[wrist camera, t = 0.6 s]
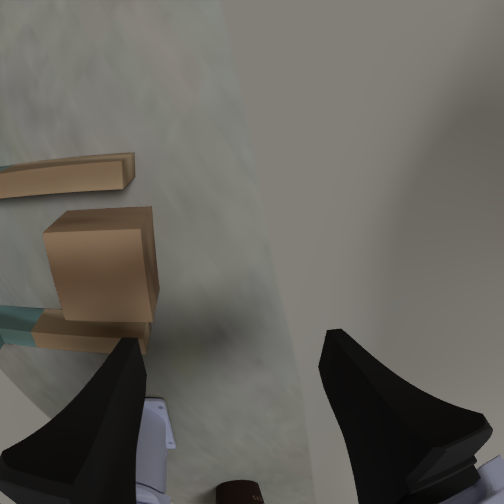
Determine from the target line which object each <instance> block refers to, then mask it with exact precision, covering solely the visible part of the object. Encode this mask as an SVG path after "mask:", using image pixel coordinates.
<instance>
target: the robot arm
mask: <svg viewBox="0 0 504 504" xmlns="http://www.w3.org/2000/svg"><path fill="white" fill-rule="evenodd" d="M318 368H319V372H320V376H321V379H322V383H323V387H324V390H325V392H326V395H327V397H328V399H329V402H330V405H331V407H332V409H333V412H334V414H335V417H336V419H337V421H338V424H339V426H340V429H341V431H342V434H343V437H344V440H345V443H346V447H347V450H348V454H349V458H350V462H351V466H352V471H353V475H354V480H355V485H356V490H357V496H358V502H359V504H504V459H503V458H502V456H501V455H498V456H496V457H495V458H493V459H492V460H490V461H488V462H487V463H485V464H483V465H482V466H480V467H479V468H478V469H477V470H476V468H475V466H474V464H475V463H476V462H477V460H476V458H475V456H474V455H475V453H476V452H477V451H478V450H479V449H480V448H481V447H482V446H483V445H484V444H485V443H486V442H487V440H488V439H489V438H490V436H491V435H492V432H493V429H492V427H491V426H490V424H489V423H488V421H487V420H486V418H485V417H484V415H483V414H481V413H478V412H474V411H471V410H467V409H464V408H461V407H458V406H455V405H452V404H450V403H447V402H445V401H442V400H440V399H438V398H436V397H434V396H432V395H430V394H428V393H426V392H424V391H422V390H420V389H418V388H417V387H415V386H413V385H412V384H410V383H409V382H407V381H405V380H404V379H402V378H400V377H399V376H398V375H396V374H395V373H394V372H392V371H391V370H390V369H388V368H387V367H386V366H384V365H383V364H382V363H380V362H379V361H378V360H377V359H375V358H374V357H373V356H372V355H371V354H370V353H368V352H367V351H366V350H365V349H364V348H362V346H361V345H359V344H358V343H357V342H356V341H355V340H354V339H353V338H351V337H350V336H349V335H348V334H347V333H346V332H345V331H343V330H342V329H333V330H327V333H326V336H325V341H324V345H323V349H322V354H321V357H320V362H319V366H318ZM146 376H147V374H146V370H145V366H144V362H143V358H142V354H141V350H140V345H139V341H138V338H133V337H122V338H121V339H120V341H119V342H118V343H117V345H116V346H115V348H114V349H113V351H112V352H111V353H110V355H109V356H108V358H107V359H106V360H105V362H104V363H103V364H102V366H101V367H100V368H99V370H98V371H97V372H96V374H95V375H94V376H93V377H92V379H91V380H90V381H89V382H88V383H87V384H86V386H85V387H84V388H83V389H82V390H81V392H80V393H79V394H78V395H77V396H76V397H75V398H74V399H73V400H72V401H71V402H70V403H69V404H68V405H67V406H66V407H65V408H64V409H63V410H62V411H61V412H60V413H59V414H57V415H56V416H55V417H54V418H53V419H52V420H51V421H50V422H48V423H47V424H46V425H44V426H43V427H42V428H40V429H39V430H37V431H36V432H35V433H33V434H32V435H30V436H29V437H27V438H26V439H24V440H22V441H21V442H19V443H17V444H15V445H13V446H11V447H10V448H8V449H6V450H4V451H2V454H1V456H0V491H1V492H3V493H4V494H5V495H6V496H8V497H9V498H10V499H12V500H13V501H14V502H15V503H17V504H170V496H169V495H165V493H166V487H167V449H175V448H176V443H175V439H174V435H173V432H172V428H171V424H170V420H169V416H168V412H167V407H166V403H165V401H164V400H163V399H153V398H145V393H146Z"/></svg>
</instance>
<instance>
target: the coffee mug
mask: <svg viewBox="0 0 504 504" xmlns="http://www.w3.org/2000/svg"><path fill="white" fill-rule="evenodd" d="M216 504H264V501H263V498H262V495H261V491H260V488H259V485H258V483H256V482H254V481H249V480H235V481H229V482H225V483H222V484H220V485H218V486H217V488H216Z"/></svg>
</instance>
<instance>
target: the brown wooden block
mask: <svg viewBox="0 0 504 504" xmlns="http://www.w3.org/2000/svg"><path fill="white" fill-rule="evenodd" d="M43 238H44V243H45V247H46V252H47V256H48V260H49V264H50V268H51V272H52V276H53V280H54V283H55V287H56V291H57V294H58V297H59V301H60V304H61V307H62V311H63V314H64V317H65V320H76V321H107V322H153V319H154V314H155V309H156V304H157V299H158V294H159V289H160V287H159V279H158V270H157V261H156V251H155V240H154V229H153V216H152V206H150V207H126V208H105V209H88V210H72V211H66V212H65V213H64V214H63V215H62V216H61V217H59V218H58V219H57V220H56V221H55V222H54V223H53V224H52V225H51V226H50V227H48V228H47V229H46V230H45V231H44V232H43Z"/></svg>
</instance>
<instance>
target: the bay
mask: <svg viewBox="0 0 504 504" xmlns="http://www.w3.org/2000/svg"><path fill="white" fill-rule="evenodd" d="M134 177H135V157H134V153H117V154H103V155H91V156H80V157H70V158H61V159H53V160H45V161H37V162H30V163H23V164H16V165H10V166H4V167H0V199H1V198H10V197H20V196H30V195H41V194H52V193H65V192H80V191H96V190H115V189H124V188H125V187H126V186H127V185H128V184H129V183H130V181H131V180H132V179H133V178H134ZM150 332H151V324H150V322H107V321H76V320H65V317H64V314H63V311H62V310H58V309H40V308H26V307H12V306H0V349H1V347H2V346H3V344H4V343H9V344H16V345H23V346H31V347H40V348H49V349H58V350H69V351H81V352H94V353H111V352H112V351H113V349H114V348H115V346H116V345H117V343H118V342H119V341H120V339H121V338H122V337H133V338H138V341H139V345H140V350H141V354H142V355H146V354H147V348H148V343H149V337H150Z"/></svg>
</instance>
